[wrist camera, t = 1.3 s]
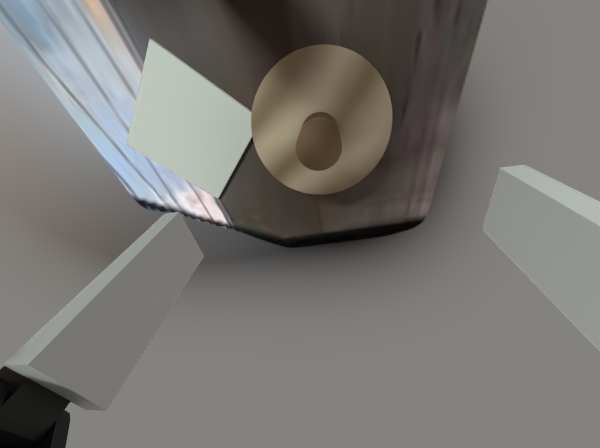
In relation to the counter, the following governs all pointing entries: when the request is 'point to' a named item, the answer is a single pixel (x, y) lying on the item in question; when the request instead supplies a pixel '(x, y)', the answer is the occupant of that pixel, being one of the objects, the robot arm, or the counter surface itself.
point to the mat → (187, 122)
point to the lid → (321, 119)
